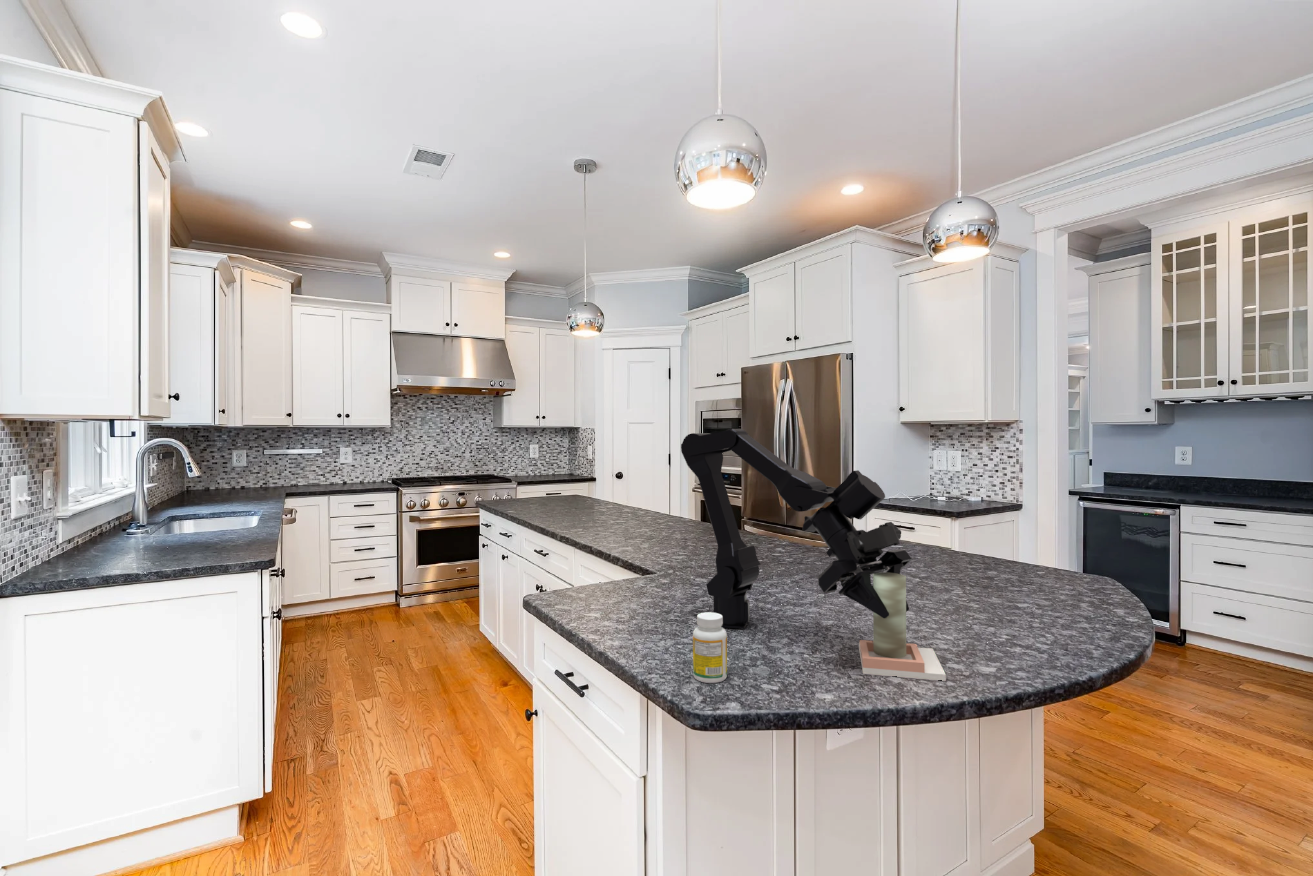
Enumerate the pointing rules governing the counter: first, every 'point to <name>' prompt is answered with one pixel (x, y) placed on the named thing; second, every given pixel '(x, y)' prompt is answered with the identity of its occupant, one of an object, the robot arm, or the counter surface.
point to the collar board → (902, 663)
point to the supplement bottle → (710, 648)
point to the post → (890, 615)
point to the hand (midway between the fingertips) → (897, 614)
